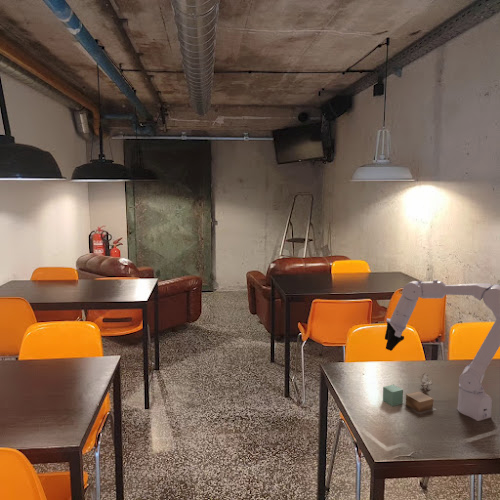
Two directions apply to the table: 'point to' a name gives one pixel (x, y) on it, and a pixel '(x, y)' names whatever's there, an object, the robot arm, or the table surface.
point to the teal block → (393, 395)
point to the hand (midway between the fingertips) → (387, 344)
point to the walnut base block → (419, 401)
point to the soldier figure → (425, 382)
